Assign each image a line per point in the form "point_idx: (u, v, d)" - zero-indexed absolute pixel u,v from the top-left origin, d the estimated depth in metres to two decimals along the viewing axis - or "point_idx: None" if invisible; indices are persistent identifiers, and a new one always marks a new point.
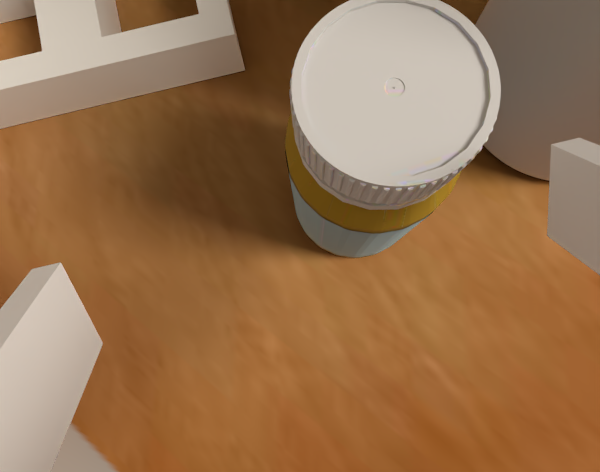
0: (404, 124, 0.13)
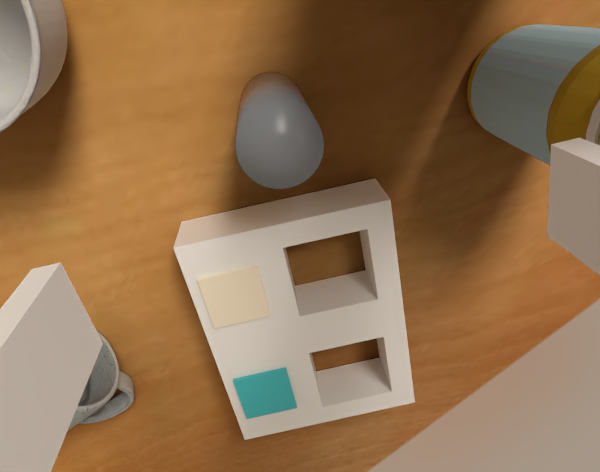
0: None
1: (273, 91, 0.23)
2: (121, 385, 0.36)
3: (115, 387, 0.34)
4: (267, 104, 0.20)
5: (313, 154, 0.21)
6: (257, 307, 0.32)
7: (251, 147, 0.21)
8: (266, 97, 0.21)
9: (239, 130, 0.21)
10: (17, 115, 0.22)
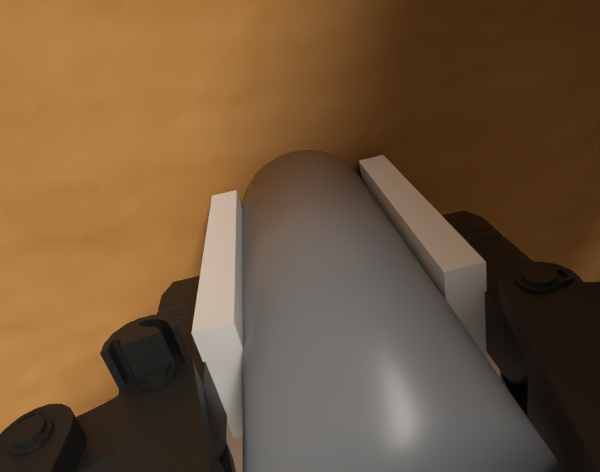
0: None
1: (355, 278, 0.07)
2: None
3: None
4: (377, 427, 0.05)
5: None
6: None
7: None
8: (347, 332, 0.06)
9: None
10: None
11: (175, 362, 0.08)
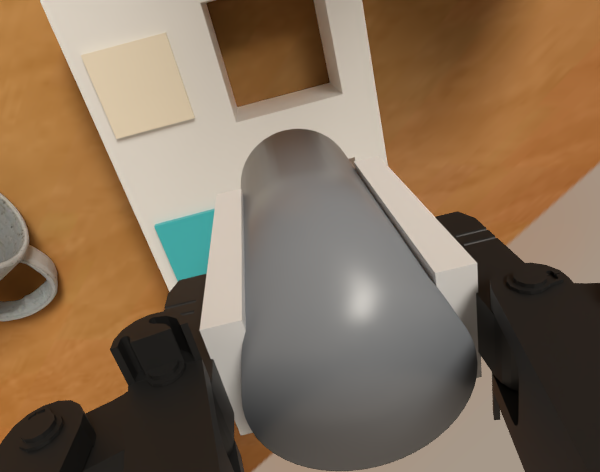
0: None
1: (329, 214, 0.09)
2: (35, 262, 0.28)
3: (19, 255, 0.26)
4: (335, 296, 0.07)
5: (445, 398, 0.08)
6: (173, 103, 0.23)
7: (285, 395, 0.08)
8: (319, 246, 0.08)
9: (252, 360, 0.07)
10: None
11: (184, 359, 0.08)
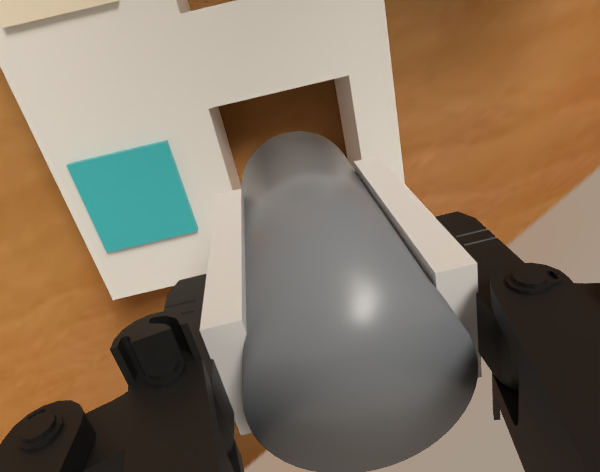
0: None
1: (329, 217, 0.09)
2: None
3: None
4: (336, 299, 0.07)
5: (446, 401, 0.08)
6: None
7: (287, 397, 0.08)
8: (320, 249, 0.08)
9: (254, 363, 0.07)
10: None
11: (184, 359, 0.08)
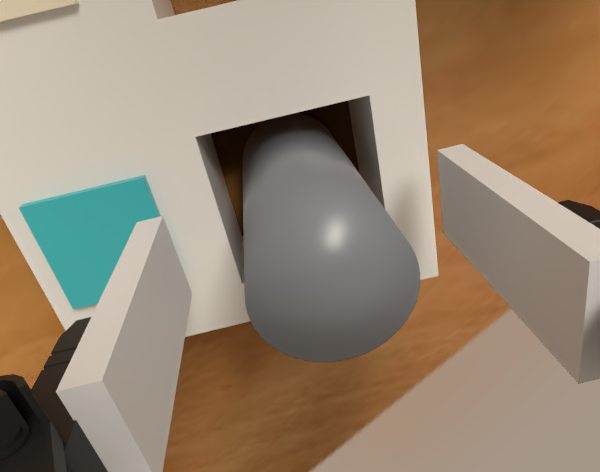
0: None
1: (311, 169, 0.12)
2: None
3: None
4: (312, 216, 0.10)
5: (397, 302, 0.11)
6: None
7: (277, 294, 0.10)
8: (303, 189, 0.11)
9: (253, 266, 0.10)
10: None
11: (29, 424, 0.07)
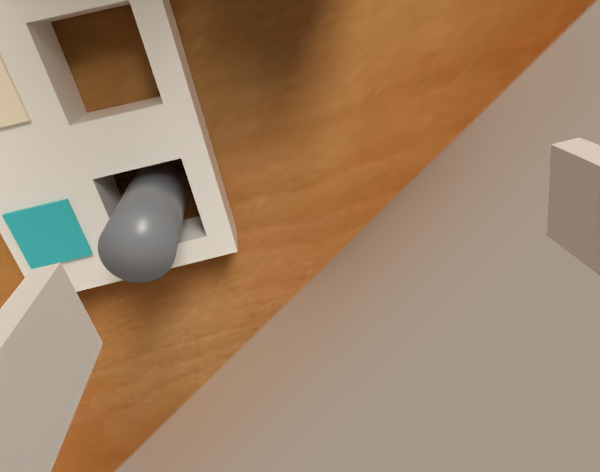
0: None
1: (138, 197, 0.27)
2: None
3: None
4: (121, 218, 0.24)
5: (167, 255, 0.25)
6: (8, 107, 0.26)
7: (112, 251, 0.25)
8: (127, 206, 0.25)
9: (99, 238, 0.24)
10: None
11: None
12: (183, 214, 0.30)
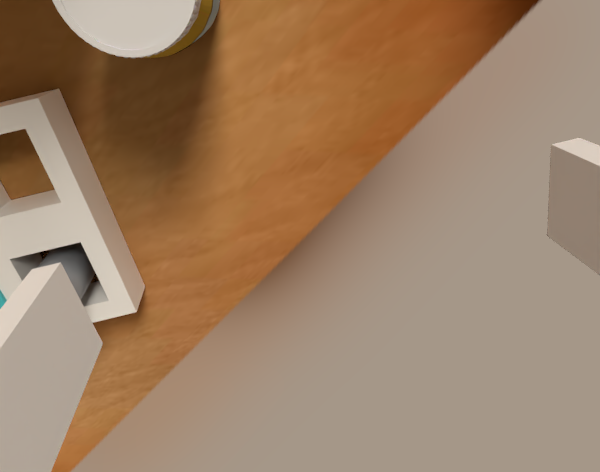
0: None
1: None
2: None
3: None
4: None
5: None
6: None
7: None
8: None
9: None
10: None
11: None
12: (84, 286, 0.37)
